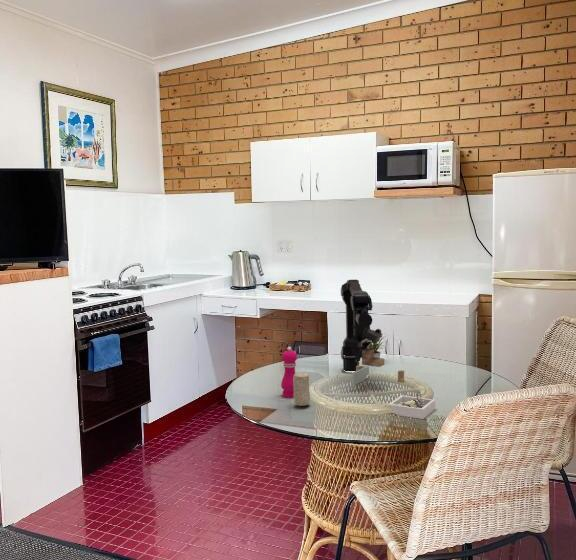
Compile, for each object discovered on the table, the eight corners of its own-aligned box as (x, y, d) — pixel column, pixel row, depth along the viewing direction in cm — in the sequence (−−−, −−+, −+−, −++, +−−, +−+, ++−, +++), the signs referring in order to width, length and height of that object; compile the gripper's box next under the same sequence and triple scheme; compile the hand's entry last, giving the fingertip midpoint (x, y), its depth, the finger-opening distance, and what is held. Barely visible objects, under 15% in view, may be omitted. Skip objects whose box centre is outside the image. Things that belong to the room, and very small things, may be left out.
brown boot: (361, 364, 253) (361, 350, 253) (367, 362, 257) (366, 348, 256) (379, 367, 249) (379, 352, 248) (384, 364, 252) (384, 350, 252)
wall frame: (356, 378, 272) (356, 366, 271) (358, 377, 273) (358, 365, 273) (402, 384, 260) (402, 371, 260) (404, 383, 262) (404, 370, 262)
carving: (308, 401, 239) (307, 371, 238) (311, 407, 231) (311, 376, 230) (292, 402, 238) (291, 372, 237) (295, 408, 230) (294, 377, 229)
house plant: (394, 362, 300) (394, 329, 298) (386, 369, 287) (386, 334, 286) (365, 360, 306) (365, 328, 304) (357, 366, 293) (357, 333, 292)
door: (367, 378, 271) (366, 366, 270) (369, 378, 270) (369, 366, 269) (351, 385, 259) (351, 372, 258) (353, 386, 258) (353, 373, 258)
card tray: (388, 413, 222) (388, 404, 221) (401, 404, 233) (401, 395, 232) (423, 419, 215) (423, 409, 215) (435, 409, 226) (435, 399, 226)
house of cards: (440, 409, 227) (440, 389, 226) (430, 415, 220) (430, 394, 219) (417, 405, 232) (417, 385, 232) (407, 411, 225) (407, 391, 225)
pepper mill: (287, 399, 243) (286, 349, 241) (278, 395, 249) (276, 346, 247) (302, 396, 246) (301, 347, 244) (293, 392, 252) (292, 344, 251)
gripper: (368, 328, 242) (368, 367, 244) (388, 321, 257) (388, 357, 259) (343, 326, 248) (343, 364, 250) (363, 319, 264) (364, 354, 265)
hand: (360, 360), depth 256 cm, fingers closed on brown boot, 4 cm apart
